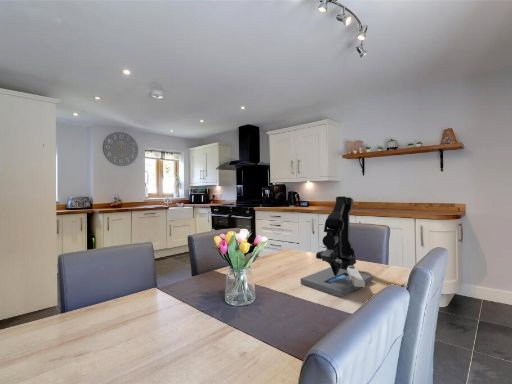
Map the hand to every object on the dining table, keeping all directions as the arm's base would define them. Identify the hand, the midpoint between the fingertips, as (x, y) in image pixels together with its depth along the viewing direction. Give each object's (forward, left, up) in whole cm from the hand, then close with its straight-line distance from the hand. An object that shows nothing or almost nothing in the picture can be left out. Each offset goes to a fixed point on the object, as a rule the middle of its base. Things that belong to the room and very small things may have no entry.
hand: (335, 275), depth 130 cm
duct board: (0, 0, -3) cm, 3 cm away
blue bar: (0, 0, -2) cm, 3 cm away
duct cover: (+7, +5, 0) cm, 9 cm away
